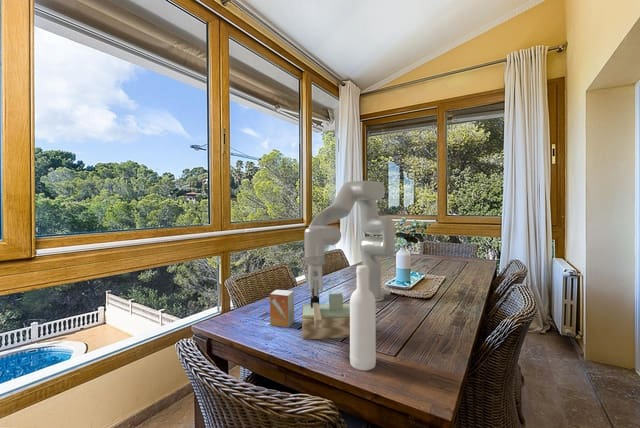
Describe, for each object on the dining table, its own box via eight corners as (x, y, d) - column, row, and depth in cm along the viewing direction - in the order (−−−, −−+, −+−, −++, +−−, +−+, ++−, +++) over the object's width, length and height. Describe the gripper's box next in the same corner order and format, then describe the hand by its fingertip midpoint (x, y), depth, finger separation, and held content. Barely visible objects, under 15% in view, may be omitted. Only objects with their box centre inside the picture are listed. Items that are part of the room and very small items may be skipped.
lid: (350, 306, 118) (350, 290, 118) (356, 316, 108) (356, 298, 107) (302, 308, 116) (302, 291, 116) (303, 318, 106) (302, 300, 106)
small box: (269, 325, 117) (269, 293, 117) (276, 319, 123) (276, 289, 123) (288, 328, 115) (288, 295, 114) (294, 321, 121) (294, 290, 120)
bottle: (346, 367, 87) (346, 268, 86) (353, 354, 94) (352, 262, 93) (373, 373, 84) (373, 270, 83) (378, 359, 91) (378, 264, 90)
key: (318, 310, 110) (318, 302, 110) (321, 328, 94) (321, 319, 94) (312, 310, 110) (312, 302, 110) (315, 329, 94) (315, 320, 94)
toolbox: (350, 321, 121) (350, 301, 120) (358, 338, 106) (357, 315, 105) (302, 323, 119) (301, 303, 119) (302, 340, 104) (302, 317, 104)
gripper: (326, 263, 104) (326, 314, 105) (322, 256, 119) (323, 300, 120) (305, 264, 103) (305, 315, 104) (304, 256, 118) (304, 301, 119)
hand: (315, 307), depth 112 cm, fingers closed
